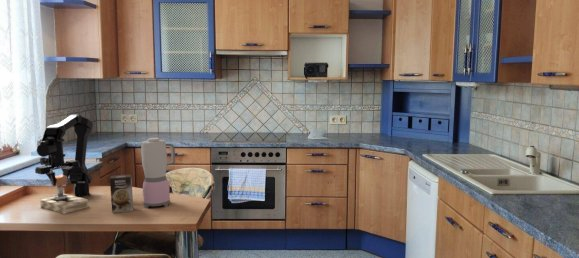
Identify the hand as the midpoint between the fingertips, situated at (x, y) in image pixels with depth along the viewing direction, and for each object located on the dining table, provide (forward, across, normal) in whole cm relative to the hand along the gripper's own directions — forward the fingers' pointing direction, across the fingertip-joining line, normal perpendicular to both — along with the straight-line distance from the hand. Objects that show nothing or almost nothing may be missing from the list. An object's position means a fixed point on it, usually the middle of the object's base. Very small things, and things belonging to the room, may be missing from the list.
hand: (59, 184), depth 218 cm
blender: (+11, -26, +40) cm, 49 cm away
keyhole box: (+10, 0, +3) cm, 11 cm away
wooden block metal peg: (+7, 0, 0) cm, 7 cm away
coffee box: (+11, -11, +32) cm, 35 cm away
